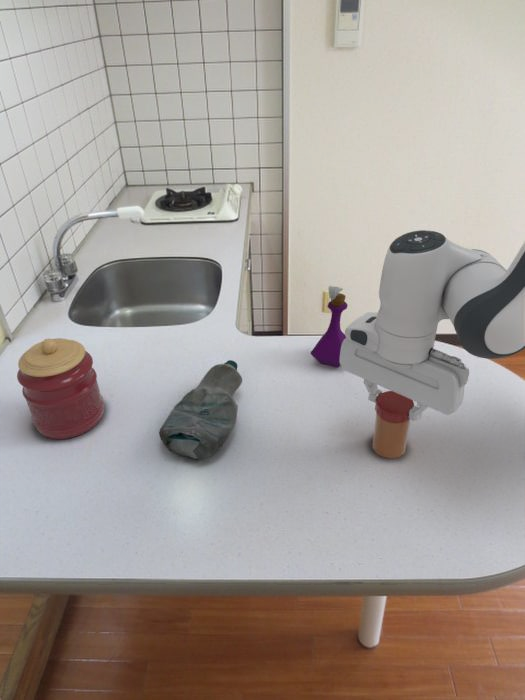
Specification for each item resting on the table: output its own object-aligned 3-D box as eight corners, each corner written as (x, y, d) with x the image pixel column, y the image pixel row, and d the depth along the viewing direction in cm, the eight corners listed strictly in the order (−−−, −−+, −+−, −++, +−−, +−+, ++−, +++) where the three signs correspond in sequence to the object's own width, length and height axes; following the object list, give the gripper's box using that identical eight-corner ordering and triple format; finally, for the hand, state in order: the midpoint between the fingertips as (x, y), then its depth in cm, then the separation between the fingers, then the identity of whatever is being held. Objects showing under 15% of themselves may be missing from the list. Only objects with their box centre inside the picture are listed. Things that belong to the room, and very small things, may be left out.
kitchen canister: (100, 389, 108) (81, 314, 98) (110, 428, 98) (90, 350, 88) (33, 406, 104) (6, 330, 94) (36, 449, 94) (7, 369, 84)
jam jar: (399, 434, 94) (406, 392, 89) (409, 457, 89) (416, 414, 84) (369, 437, 94) (373, 395, 88) (376, 459, 89) (382, 417, 84)
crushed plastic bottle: (218, 472, 88) (266, 382, 107) (211, 440, 84) (262, 353, 103) (150, 459, 92) (208, 375, 111) (140, 429, 88) (202, 347, 107)
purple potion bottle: (322, 348, 118) (325, 275, 108) (354, 355, 115) (360, 281, 105) (309, 365, 112) (311, 290, 102) (343, 374, 109) (348, 297, 99)
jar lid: (406, 398, 90) (407, 389, 88) (417, 422, 85) (419, 413, 83) (371, 400, 89) (372, 391, 88) (380, 424, 84) (381, 415, 83)
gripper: (480, 353, 75) (462, 425, 83) (358, 309, 87) (352, 377, 94) (461, 374, 71) (445, 447, 79) (336, 325, 83) (332, 394, 90)
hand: (393, 408), depth 87 cm, fingers closed on jar lid, 6 cm apart
